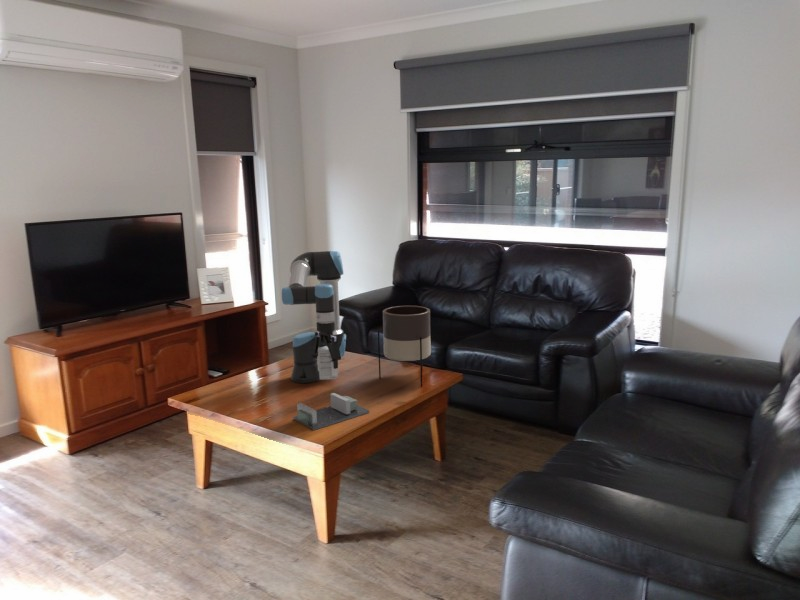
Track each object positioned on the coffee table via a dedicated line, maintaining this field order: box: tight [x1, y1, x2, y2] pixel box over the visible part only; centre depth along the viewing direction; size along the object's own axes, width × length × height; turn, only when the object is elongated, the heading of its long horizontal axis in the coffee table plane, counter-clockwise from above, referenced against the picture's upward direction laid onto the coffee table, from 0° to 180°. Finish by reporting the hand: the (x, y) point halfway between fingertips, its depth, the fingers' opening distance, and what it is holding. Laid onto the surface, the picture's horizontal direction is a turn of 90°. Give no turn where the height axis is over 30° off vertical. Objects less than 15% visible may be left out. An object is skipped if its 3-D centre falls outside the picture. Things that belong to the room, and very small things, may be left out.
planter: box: [377, 305, 432, 388], centre depth 299 cm, size 26×25×35 cm
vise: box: [292, 402, 370, 431], centre depth 256 cm, size 16×28×7 cm, turn 130°
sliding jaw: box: [330, 392, 358, 414], centre depth 260 cm, size 12×7×6 cm, turn 40°
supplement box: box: [318, 346, 338, 381], centre depth 254 cm, size 7×7×13 cm
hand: (327, 373), depth 255 cm, fingers closed on supplement box, 10 cm apart
